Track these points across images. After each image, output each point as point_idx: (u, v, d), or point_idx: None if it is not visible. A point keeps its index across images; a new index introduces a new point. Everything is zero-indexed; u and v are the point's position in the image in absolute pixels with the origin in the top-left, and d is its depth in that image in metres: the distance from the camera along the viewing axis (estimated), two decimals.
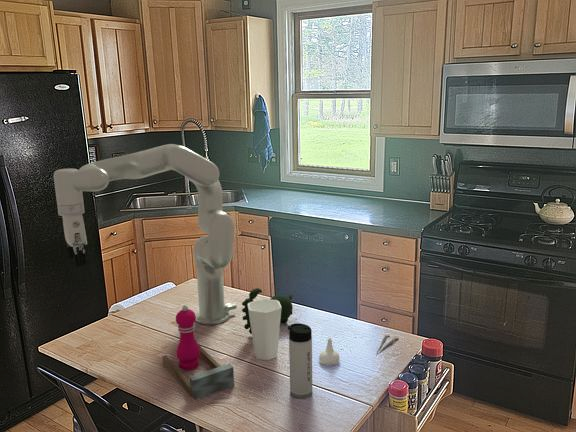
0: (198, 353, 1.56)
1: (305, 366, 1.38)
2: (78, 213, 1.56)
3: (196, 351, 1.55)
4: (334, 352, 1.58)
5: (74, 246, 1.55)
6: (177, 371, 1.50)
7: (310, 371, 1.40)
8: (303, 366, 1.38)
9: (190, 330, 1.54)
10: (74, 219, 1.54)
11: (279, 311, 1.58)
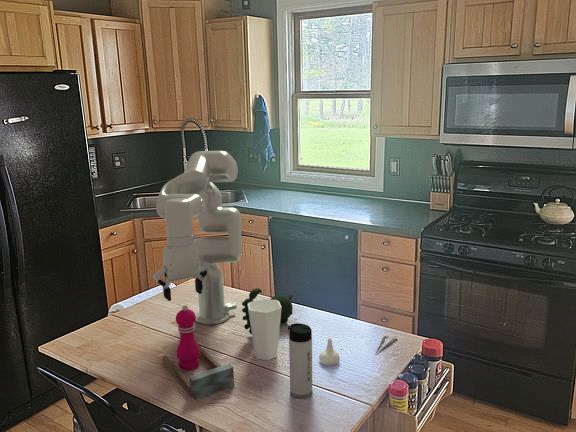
0: (198, 353, 1.56)
1: (305, 366, 1.38)
2: None
3: (196, 351, 1.55)
4: (334, 352, 1.58)
5: (199, 273, 1.53)
6: (177, 371, 1.50)
7: (310, 371, 1.40)
8: (303, 366, 1.38)
9: (190, 330, 1.54)
10: None
11: (279, 311, 1.58)
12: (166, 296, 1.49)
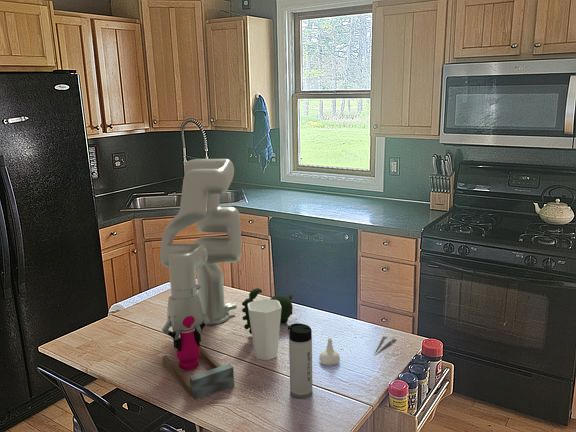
0: (198, 353, 1.56)
1: (305, 366, 1.38)
2: None
3: (196, 351, 1.55)
4: (334, 352, 1.57)
5: (199, 325, 1.56)
6: (177, 371, 1.50)
7: (310, 371, 1.40)
8: (303, 366, 1.38)
9: (190, 330, 1.54)
10: None
11: (279, 311, 1.58)
12: (176, 347, 1.54)
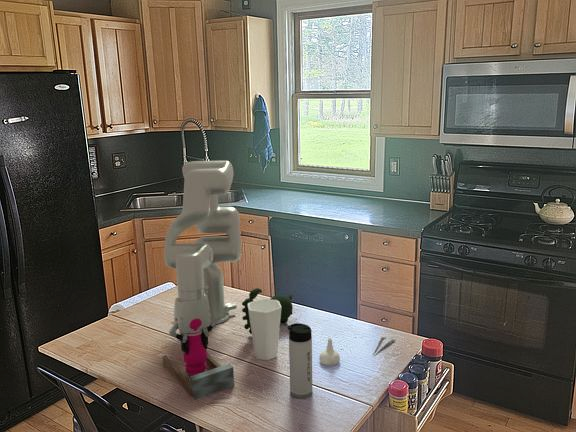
0: (205, 357, 1.51)
1: (305, 366, 1.38)
2: None
3: (203, 355, 1.50)
4: (334, 352, 1.57)
5: (206, 328, 1.51)
6: (177, 371, 1.50)
7: (310, 371, 1.40)
8: (303, 366, 1.38)
9: (197, 333, 1.49)
10: None
11: (279, 311, 1.58)
12: (184, 350, 1.49)
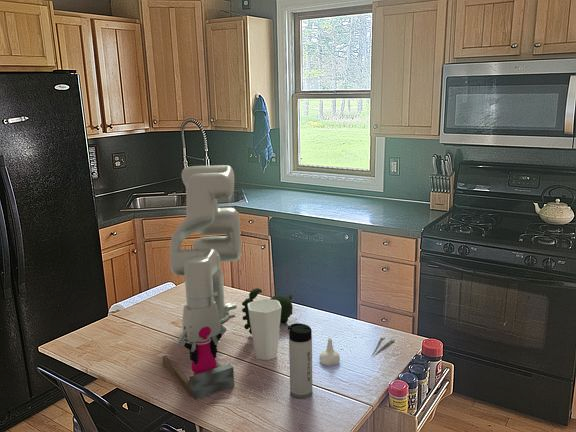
0: (215, 366, 1.46)
1: (305, 366, 1.38)
2: None
3: (212, 364, 1.45)
4: (334, 352, 1.57)
5: (216, 336, 1.46)
6: (177, 371, 1.50)
7: (310, 371, 1.40)
8: (303, 366, 1.38)
9: (206, 342, 1.44)
10: None
11: (279, 311, 1.58)
12: (192, 359, 1.44)
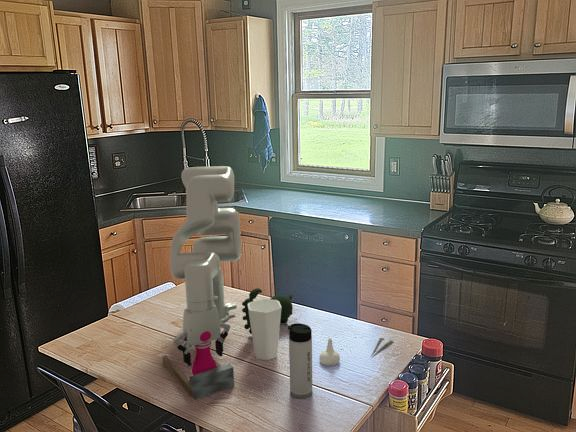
0: None
1: (305, 366, 1.38)
2: None
3: (213, 368, 1.46)
4: (334, 352, 1.57)
5: (219, 335, 1.47)
6: (177, 371, 1.50)
7: (310, 371, 1.40)
8: (303, 366, 1.38)
9: (207, 345, 1.44)
10: None
11: (279, 311, 1.58)
12: (186, 361, 1.43)
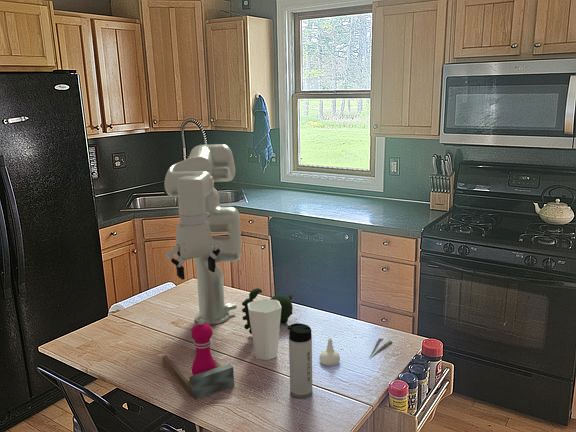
0: None
1: (305, 366, 1.38)
2: None
3: (213, 368, 1.45)
4: (334, 352, 1.57)
5: (212, 252, 1.51)
6: (177, 371, 1.50)
7: (310, 371, 1.40)
8: (303, 366, 1.38)
9: (207, 345, 1.44)
10: None
11: (279, 311, 1.58)
12: (179, 275, 1.48)
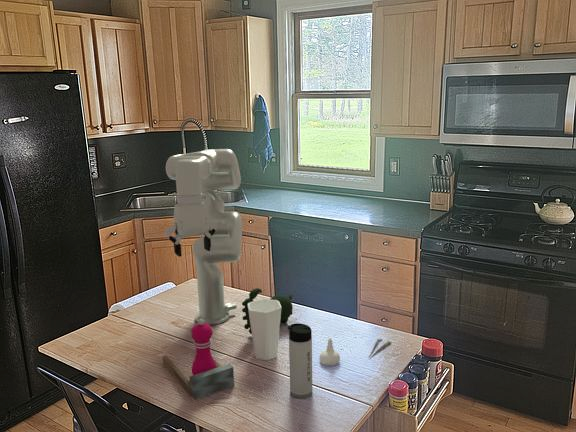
0: None
1: (305, 366, 1.38)
2: None
3: (213, 368, 1.45)
4: (334, 352, 1.57)
5: (207, 231, 1.61)
6: (177, 371, 1.50)
7: (310, 371, 1.40)
8: (303, 366, 1.38)
9: (207, 345, 1.44)
10: None
11: (279, 311, 1.58)
12: (177, 252, 1.57)
